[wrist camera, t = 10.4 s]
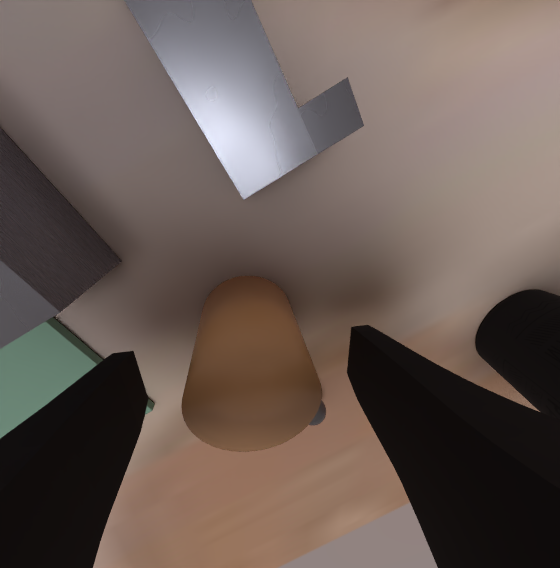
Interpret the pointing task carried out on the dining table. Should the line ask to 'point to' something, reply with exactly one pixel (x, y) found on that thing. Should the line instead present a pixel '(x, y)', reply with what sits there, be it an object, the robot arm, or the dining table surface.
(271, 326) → the plug
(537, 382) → the drinking cup
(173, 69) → the channel
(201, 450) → the dining table surface
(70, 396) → the robot arm
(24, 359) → the mat
